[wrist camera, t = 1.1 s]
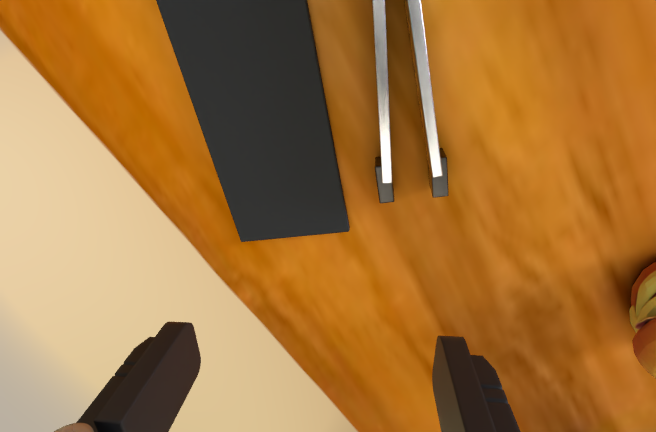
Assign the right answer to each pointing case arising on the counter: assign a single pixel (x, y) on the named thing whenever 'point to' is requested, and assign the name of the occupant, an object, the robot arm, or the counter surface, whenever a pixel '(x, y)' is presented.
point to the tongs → (425, 97)
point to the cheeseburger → (645, 318)
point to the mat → (261, 112)
